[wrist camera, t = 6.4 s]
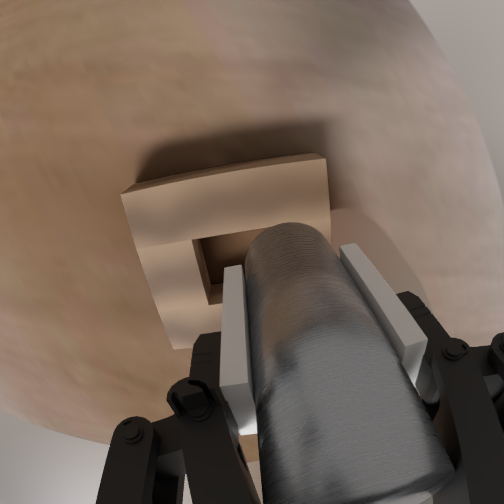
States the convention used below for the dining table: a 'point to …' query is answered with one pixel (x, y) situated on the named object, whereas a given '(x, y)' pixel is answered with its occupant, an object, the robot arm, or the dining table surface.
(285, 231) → the grey metal peg
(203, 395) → the robot arm
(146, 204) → the jig
